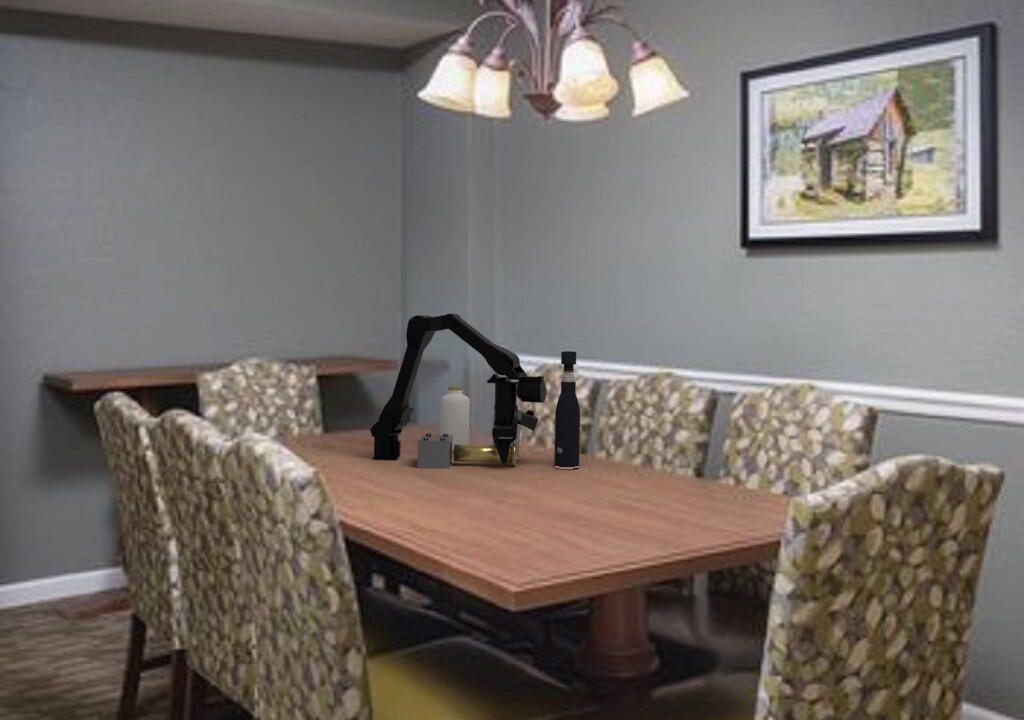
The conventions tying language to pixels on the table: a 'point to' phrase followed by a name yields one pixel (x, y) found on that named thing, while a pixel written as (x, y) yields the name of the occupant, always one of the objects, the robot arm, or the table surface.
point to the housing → (435, 451)
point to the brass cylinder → (482, 453)
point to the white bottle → (455, 416)
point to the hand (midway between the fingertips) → (504, 461)
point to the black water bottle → (567, 417)
